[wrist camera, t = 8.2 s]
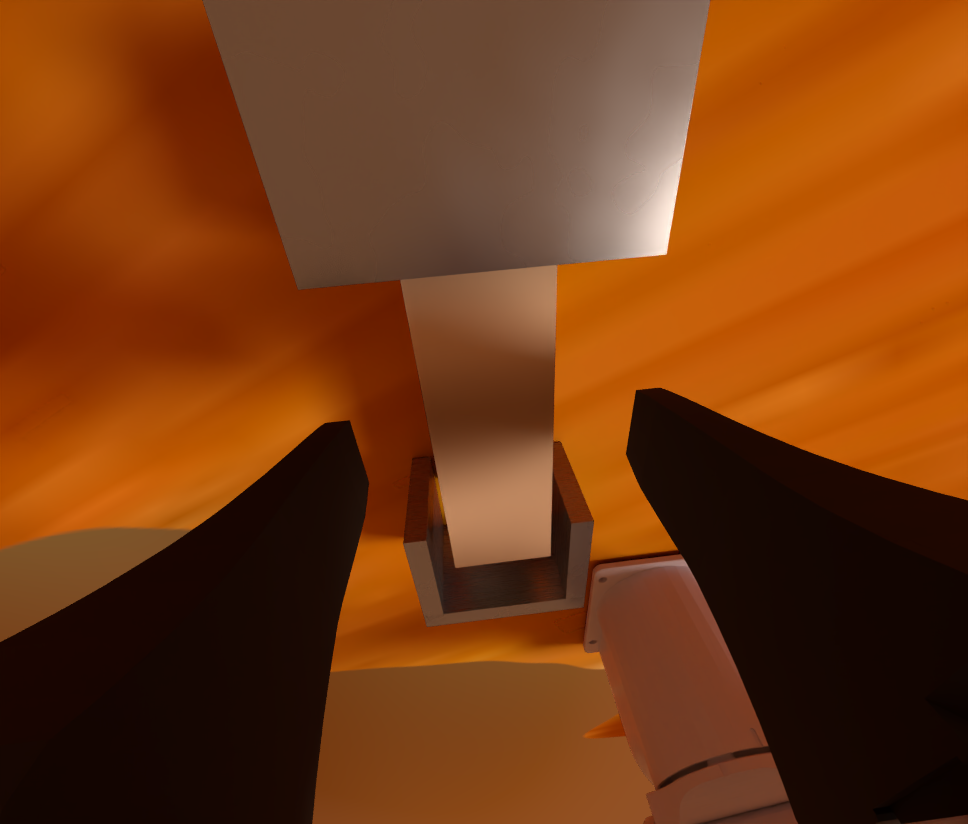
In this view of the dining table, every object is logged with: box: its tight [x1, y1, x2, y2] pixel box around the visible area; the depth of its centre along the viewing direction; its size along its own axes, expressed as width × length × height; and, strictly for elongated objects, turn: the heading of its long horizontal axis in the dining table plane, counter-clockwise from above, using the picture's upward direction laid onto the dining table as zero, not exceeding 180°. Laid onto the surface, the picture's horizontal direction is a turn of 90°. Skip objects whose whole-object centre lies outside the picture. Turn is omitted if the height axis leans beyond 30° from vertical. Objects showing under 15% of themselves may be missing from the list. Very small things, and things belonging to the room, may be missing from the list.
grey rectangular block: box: [202, 0, 710, 290], centre depth 9 cm, size 4×7×6 cm, turn 94°
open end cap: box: [403, 442, 594, 627], centre depth 17 cm, size 5×7×5 cm
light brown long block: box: [400, 265, 557, 568], centre depth 13 cm, size 12×4×5 cm, turn 5°
